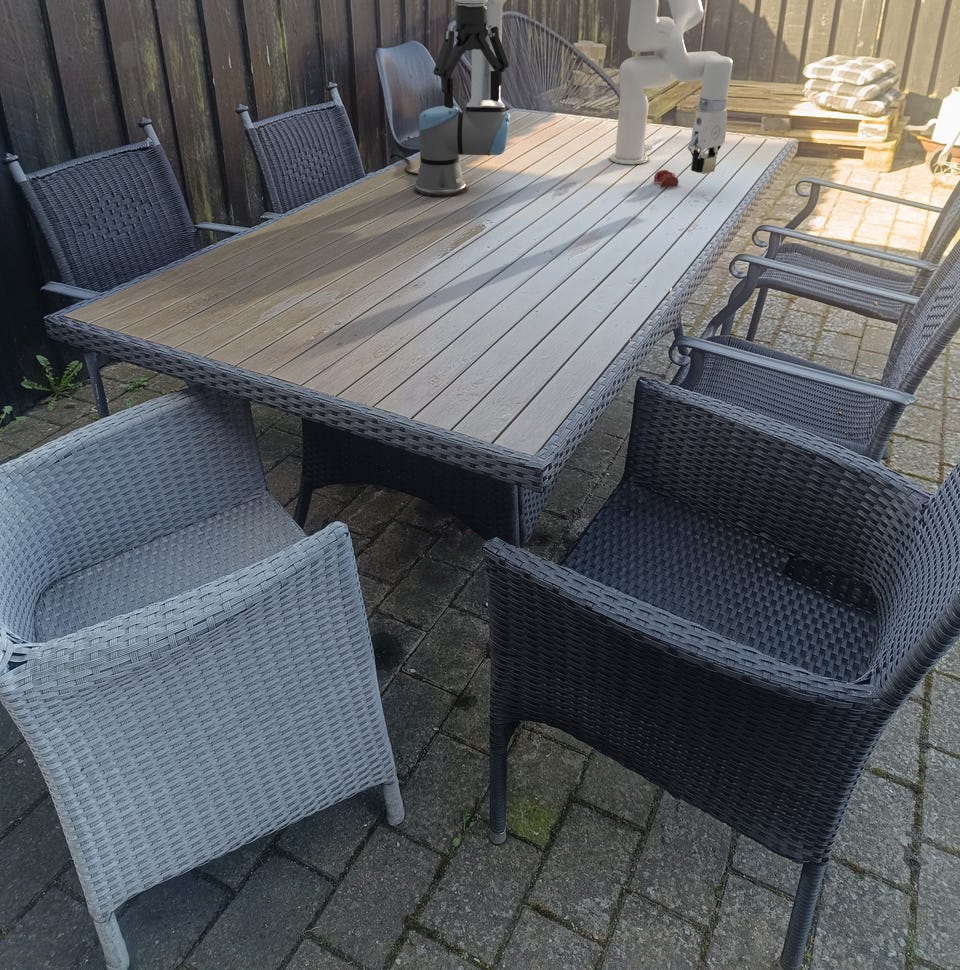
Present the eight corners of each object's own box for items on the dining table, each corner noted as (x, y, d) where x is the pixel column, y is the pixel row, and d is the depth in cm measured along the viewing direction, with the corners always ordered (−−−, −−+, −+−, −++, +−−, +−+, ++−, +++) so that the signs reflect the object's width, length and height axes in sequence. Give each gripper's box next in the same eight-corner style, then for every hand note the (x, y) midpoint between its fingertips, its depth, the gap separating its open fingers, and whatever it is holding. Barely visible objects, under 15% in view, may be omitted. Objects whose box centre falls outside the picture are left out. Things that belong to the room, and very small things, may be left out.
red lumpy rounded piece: (669, 166, 264) (680, 173, 258) (668, 179, 266) (679, 187, 260) (653, 168, 263) (663, 175, 257) (652, 181, 265) (662, 189, 259)
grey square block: (703, 174, 249) (705, 158, 246) (690, 170, 252) (692, 155, 250) (714, 171, 251) (716, 156, 249) (701, 167, 254) (703, 152, 252)
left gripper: (434, 9, 185) (437, 113, 197) (524, 2, 197) (522, 100, 209) (416, 6, 190) (420, 107, 202) (505, -1, 202) (504, 95, 214)
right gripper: (701, 111, 234) (691, 177, 245) (742, 103, 242) (731, 168, 253) (682, 106, 239) (673, 171, 250) (722, 98, 247) (712, 162, 258)
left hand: (472, 104), depth 206 cm, fingers open, 13 cm apart
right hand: (702, 169), depth 251 cm, fingers closed on grey square block, 4 cm apart
